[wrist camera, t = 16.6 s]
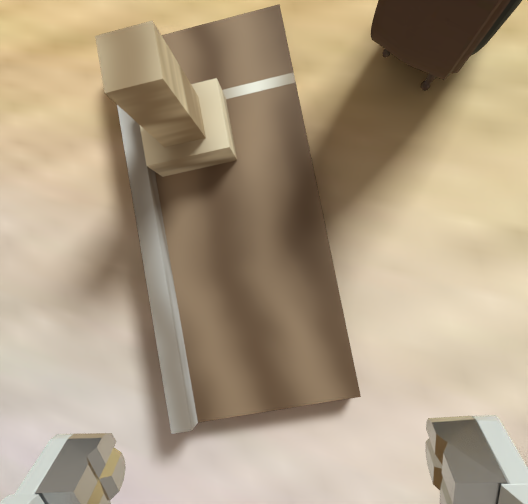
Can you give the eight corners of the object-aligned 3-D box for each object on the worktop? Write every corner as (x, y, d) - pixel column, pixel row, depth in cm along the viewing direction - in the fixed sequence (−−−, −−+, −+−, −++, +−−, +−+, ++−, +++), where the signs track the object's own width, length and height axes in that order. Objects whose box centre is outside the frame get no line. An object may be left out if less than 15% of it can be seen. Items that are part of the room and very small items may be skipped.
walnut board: (281, 21, 31) (277, -11, 28) (356, 388, 29) (363, 403, 26) (121, 62, 33) (99, 37, 29) (180, 416, 30) (164, 435, 27)
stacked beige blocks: (225, 98, 29) (178, -7, 19) (237, 160, 29) (196, 91, 18) (152, 115, 30) (64, 24, 19) (162, 176, 30) (79, 119, 19)
